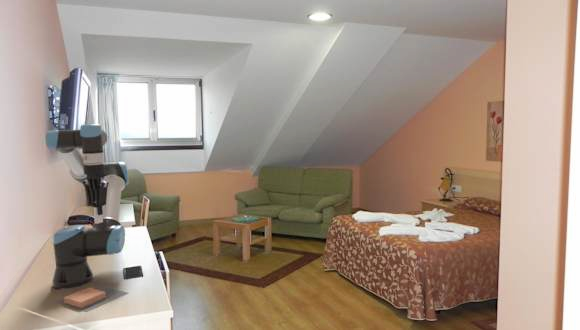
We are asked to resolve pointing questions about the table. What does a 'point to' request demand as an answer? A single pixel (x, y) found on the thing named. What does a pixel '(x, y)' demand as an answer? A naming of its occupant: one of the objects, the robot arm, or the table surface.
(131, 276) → the phone
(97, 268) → the table surface
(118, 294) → the mat
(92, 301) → the tile
